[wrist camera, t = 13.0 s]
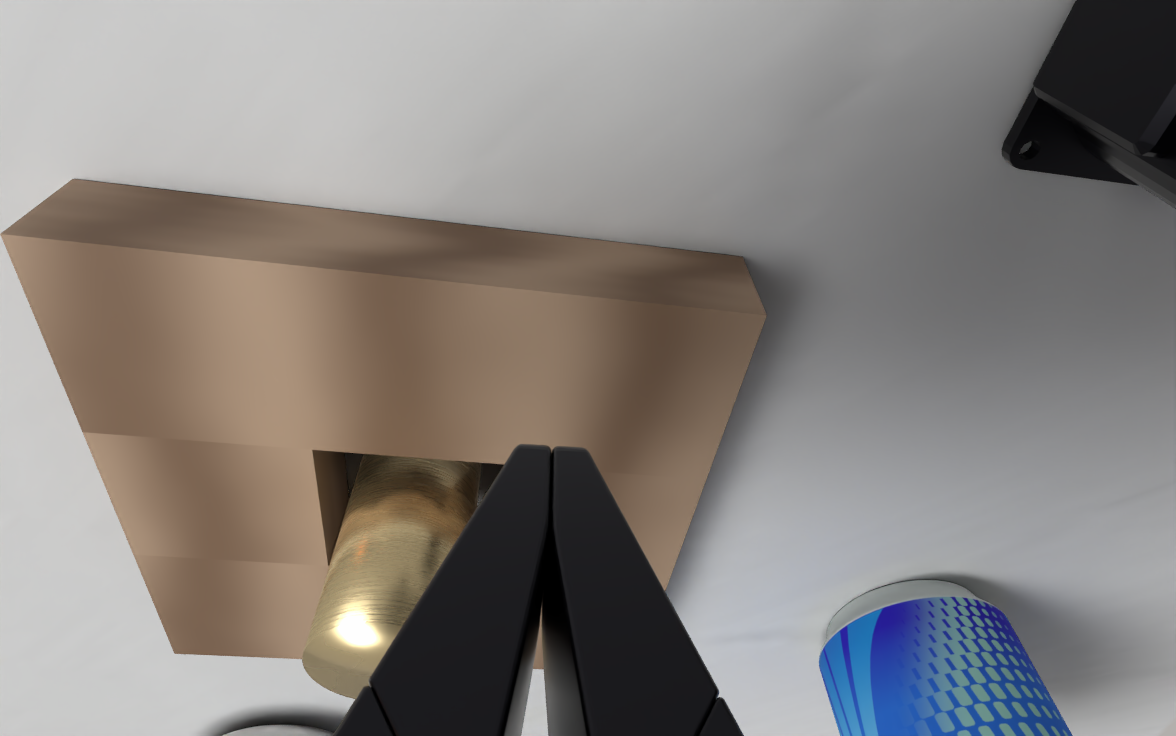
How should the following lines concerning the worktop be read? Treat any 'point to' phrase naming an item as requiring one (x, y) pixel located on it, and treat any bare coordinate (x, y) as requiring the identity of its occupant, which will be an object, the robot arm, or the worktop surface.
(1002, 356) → the worktop surface
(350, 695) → the brass sleeve
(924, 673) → the beer can
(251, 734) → the spoon rest
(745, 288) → the walnut jig
